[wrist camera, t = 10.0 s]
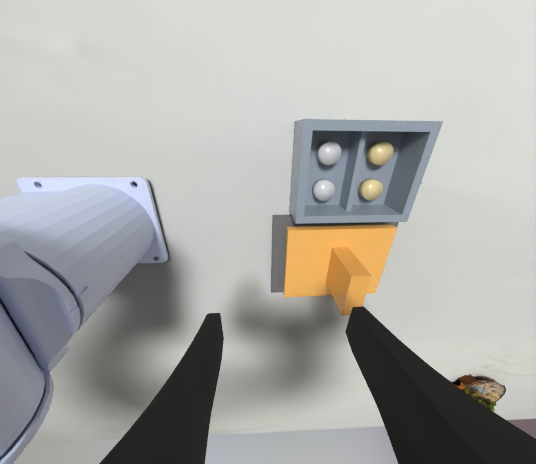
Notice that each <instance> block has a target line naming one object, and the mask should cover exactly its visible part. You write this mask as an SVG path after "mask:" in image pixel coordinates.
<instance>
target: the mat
mask: <svg viewBox="0 0 536 464" xmlns="http://www.w3.org/2000/svg"><path fill="white" fill-rule="evenodd" d="M398 223H399V222H359V223H303V224H296V223H295V221H294V219H293V217H292V215H273V224H272V267H271V293H274V292H283V291H284V273H285V255H286V237H287V227H311V226H355V225H393V226H395V227H396V228H397V226H398Z"/></svg>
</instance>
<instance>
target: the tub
mask: <svg viewBox="0 0 536 464" xmlns="http://www.w3.org/2000/svg"><path fill="white" fill-rule="evenodd" d="M442 123H443V121H381V120H320V119H303V120H299V121H295V128H294V144H293V160H292V176H291V191H290V207H289V210H290V212H291V215H292V217H293V219H294V221H295V223H296V224H303V223H359V222H407V220H408V217H409V214H410V212H411V209H412V206H413V203H414V201H415V198H416V195H417V192H418V189H419V187H420V184H421V181H422V178H423V176H424V173H425V170H426V167H427V164H428V162H429V159H430V156H431V153H432V151H433V148H434V145H435V142H436V139H437V137H438V134H439V131H440V128H441V126H442Z"/></svg>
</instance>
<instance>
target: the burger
mask: <svg viewBox="0 0 536 464" xmlns="http://www.w3.org/2000/svg"><path fill="white" fill-rule="evenodd" d="M458 379H459V380H460V381H461V385H459V386H457V387H458V388H460V389H461V390H462V391H464V392H465V393H466V394H468V395H469V396H471V397H472V398H474V399H475V400H477V401H478V402H479V403H481V404H482V405H484V406H485V407H487V408H488V409H490V410H491V411H494V410H495V409H494V406H496V401H498V400H499V399H500V398H501V397H502V396H503V395H504V394H505V392H506V388H505V386H503V385H501V384H499V383H497V382H492V381H485V380H476V379H475V378H474V377H473V376H472V375H469V376H468V375H464V376H462V377H460V378H458ZM454 385H455V384H454ZM455 386H456V385H455Z"/></svg>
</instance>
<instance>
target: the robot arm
mask: <svg viewBox="0 0 536 464" xmlns="http://www.w3.org/2000/svg"><path fill="white" fill-rule="evenodd" d="M133 181H135V182H136V183H137V186H135V185H134V184H133ZM16 183H17V186H18V187H19V189H20V191H21V193H18V194H14V195H10V196H7V197H3V198H0V464H12V463H13V462H14V461H15V460H16V459H17V458H18V456H19V455H20V454H21V453H22V452H23V450H24V449H25V448H26V446H27V445H28V444H29V442H30V441H31V440H32V438H33V437H34V435H35V434H36V432H37V431H38V429H39V427H40V426H41V424H42V423H43V421H44V418H45V416H46V414H47V412H48V410H49V408H50V404H51V401H52V398H53V388H54V385H53V380H52V377H51V375H50V372H51V371H52V369H53V368H54V367H55V366H56V365H57V363H58V362H59V361H60V360H61V359H62V357H63V356H64V355H65V354H66V353H67V352H68V347H67V343H68V341H69V340H70V339H71V338H72V336H73V335H74V334H75V333H76V332H77V331H78V330H79V329H80V327H81V326H82V325H83V324H84V323H85V322H86V321H87V320H88V318H89V317H90V316H91V315H92V314H93V313H94V312H95V310H96V309H97V308H98V307H99V306H100V305H101V304H102V302H103V301H104V300H105V299H106V298H107V297H108V296H109V294H110V293H111V292H112V291H113V290H114V289H115V288H116V287H117V285H118V284H119V283H120V282H121V281H122V280H123V279H124V277H125V276H126V275H127V274H128V273H129V272H130V271H131V269H132V268H133V267H134V266H135V265H136V264H137V263H164V262H166V261H167V260H168V253H167V250H166V246H165V242H164V238H163V234H162V230H161V227H160V223H159V219H158V215H157V211H156V207H155V204H154V200H153V196H152V192H151V188H150V184H149V182H148V180H147V179H145V178H143V177H24V178H19V179H17V181H16ZM39 183H40V184H41V185H42V186H40V184H39ZM155 257H158V258H159V259H157V258H155ZM346 335H347V338H348V341H349V344H350V347H351V349H352V352H353V354H354V357H355V359H356V361H357V363H358V365H359V368H360V370H361V372H362V374H363V376H364V378H365V380H366V383H367V385H368V387H369V389H370V391H371V393H372V395H373V398H374V400H375V402H376V404H377V407H378V409H379V412H380V414H381V417H382V420H383V422H384V425H385V428H386V430H387V432H388V436H389V438H390V441H391V444H392V447H393V450H394V452H395V455H396V458H397V461H398V464H536V439H535V438H533V437H532V436H530V435H528V434H527V433H525V432H524V431H522V430H521V429H519V428H517V427H516V426H514V425H513V424H511V423H509V422H508V421H506V420H505V419H503V418H502V417H500V416H499V415H497V414H496V413H494V412H493V411H491V410H490V409H488V408H487V407H485V406H484V405H482V404H481V403H479V402H478V401H477V400H475V399H474V398H472V397H471V396H469V395H468V394H466V393H465V392H464V391H462V390H461V389H460V388H458V387H457V386H455V385H454V384H453V383H451V382H450V381H449V380H447V379H446V378H445V377H443V376H442V375H441V374H440V373H438V372H437V371H436V370H434V369H433V368H432V367H431V366H429V365H428V364H427V363H426V362H424V361H423V360H422V359H421V358H420V357H418V356H417V355H416V354H415V353H414V352H412V351H411V350H410V349H409V348H408V347H407V346H406V345H404V344H403V343H402V342H401V341H400V340H399V339H398V338H397V337H396V336H394V335H393V334H392V333H391V332H390V331H389V330H388V329H387V328H386V327H385V326H384V325H383V324H382V323H380V322H379V321H378V320H377V319H376V318H375V317H374V316H373V315H372V314H371V313H370V312H369V311H368V310H367V309H366V308H364V307H352V311H351V314H350V318H349V321H348V325H347V328H346ZM223 339H224V338H223V331H222V323H221V316H220V313H210V314H207V315H206V317H205V319H204V321H203V323H202V325H201V327H200V329H199V331H198V333H197V334H196V336H195V338H194V340H193V341H192V343H191V345H190V346H189V348H188V350H187V351H186V353H185V355H184V356H183V358H182V359H181V361H180V362H179V364H178V365H177V367H176V368H175V370H174V371H173V373H172V374H171V376H170V377H169V379H168V380H167V381H166V383H165V384H164V386H163V387H162V388H161V390H160V391H159V393H158V394H157V395H156V397H155V398H154V399H153V401H152V402H151V403H150V404H149V406H148V407H147V408H146V409H145V411H144V412H143V413H142V414H141V416H140V417H139V418H138V419H137V421H136V422H135V423H134V424H133V426H132V427H131V428H130V429H129V430H128V432H127V433H126V434H125V435H124V436H123V438H122V439H121V440H120V441H119V442H118V443H117V444H116V446H115V447H114V448H113V449H112V450H111V451H110V452H109V454H108V455H107V456H106V457H105V458H104V459H103V460H102V461H101V463H100V464H205V456H206V447H207V439H208V431H209V423H210V417H211V411H212V406H213V401H214V396H215V391H216V386H217V380H218V375H219V370H220V365H221V360H222V350H223Z"/></svg>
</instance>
